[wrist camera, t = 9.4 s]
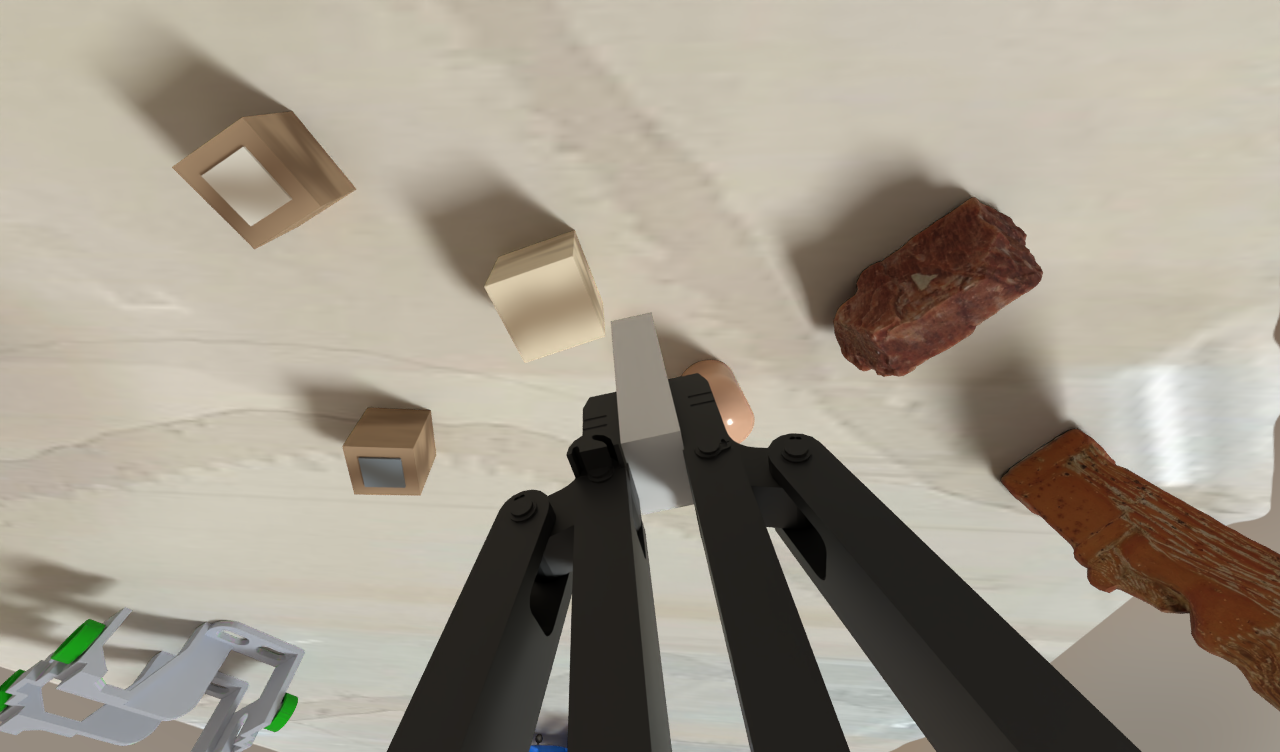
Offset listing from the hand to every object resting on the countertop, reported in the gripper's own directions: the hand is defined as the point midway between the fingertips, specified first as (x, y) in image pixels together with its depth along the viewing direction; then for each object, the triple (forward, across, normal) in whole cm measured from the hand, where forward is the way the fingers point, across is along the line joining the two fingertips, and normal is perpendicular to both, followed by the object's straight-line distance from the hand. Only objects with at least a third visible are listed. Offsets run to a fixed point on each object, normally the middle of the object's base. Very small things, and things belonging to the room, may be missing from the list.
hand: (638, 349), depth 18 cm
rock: (+26, +26, -13) cm, 39 cm away
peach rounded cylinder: (+25, +5, -21) cm, 33 cm away
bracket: (+24, -69, -45) cm, 86 cm away
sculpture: (+26, +48, -46) cm, 71 cm away
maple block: (+26, -7, -6) cm, 27 cm away
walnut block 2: (+25, -27, -18) cm, 41 cm away
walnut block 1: (+26, -23, +6) cm, 35 cm away
